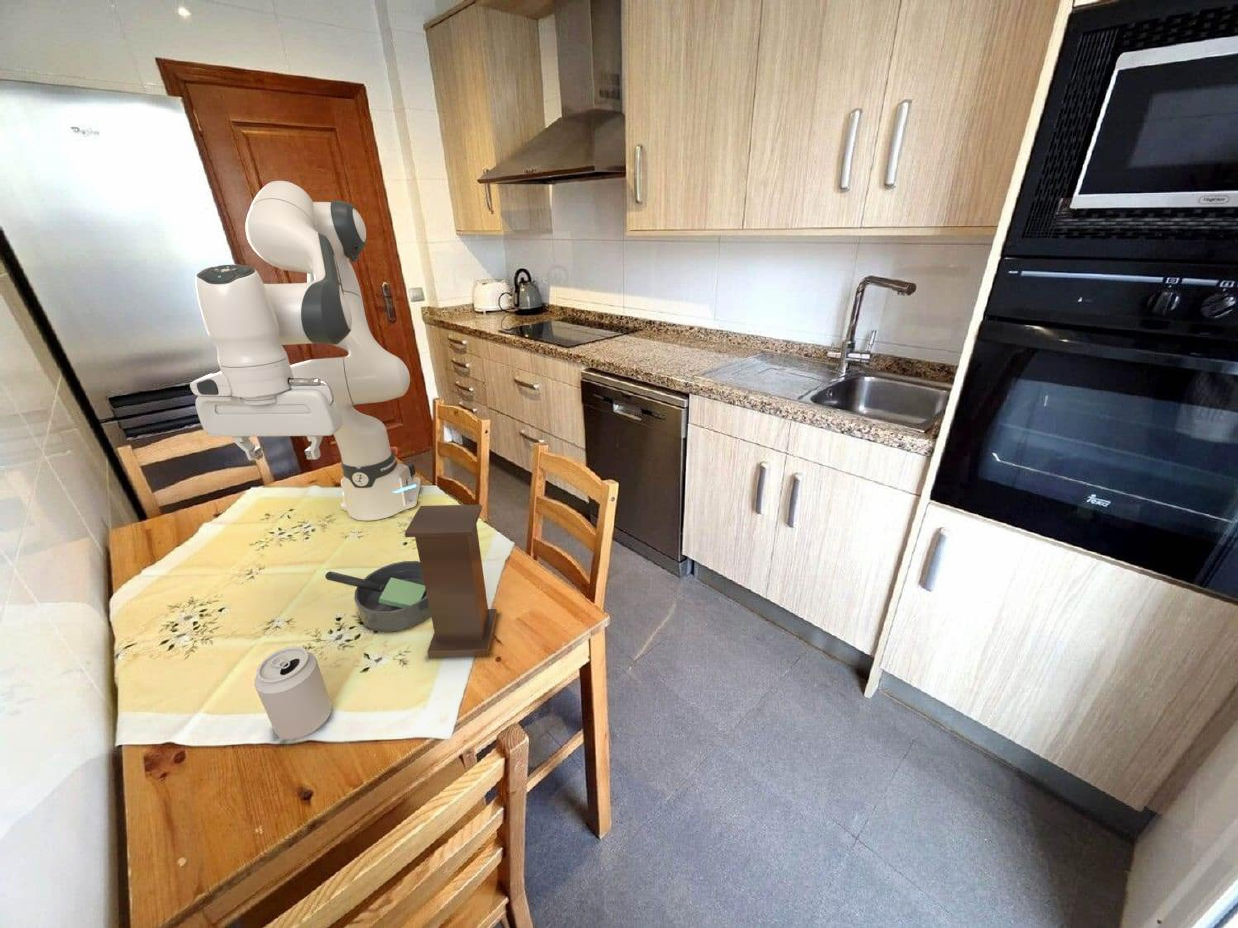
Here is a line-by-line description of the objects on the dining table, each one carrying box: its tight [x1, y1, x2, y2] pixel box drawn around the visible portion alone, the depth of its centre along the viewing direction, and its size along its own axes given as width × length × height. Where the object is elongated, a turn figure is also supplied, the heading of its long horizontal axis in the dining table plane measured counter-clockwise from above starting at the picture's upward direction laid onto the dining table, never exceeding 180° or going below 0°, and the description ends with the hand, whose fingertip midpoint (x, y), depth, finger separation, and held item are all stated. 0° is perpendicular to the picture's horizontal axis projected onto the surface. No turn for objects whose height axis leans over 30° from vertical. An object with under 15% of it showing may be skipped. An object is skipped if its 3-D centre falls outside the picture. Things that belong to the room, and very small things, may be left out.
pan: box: [353, 560, 431, 633], centre depth 97 cm, size 15×15×4 cm
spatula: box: [324, 571, 426, 608], centre depth 95 cm, size 18×6×2 cm, turn 93°
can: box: [254, 645, 333, 740], centre depth 72 cm, size 8×8×12 cm
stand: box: [404, 504, 498, 659], centre depth 85 cm, size 10×10×25 cm
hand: (285, 458), depth 84 cm, fingers open, 8 cm apart
